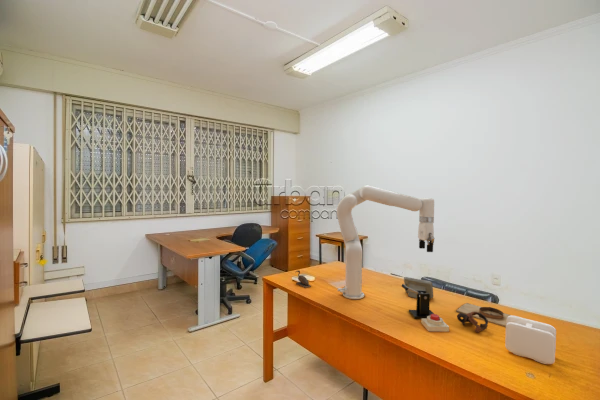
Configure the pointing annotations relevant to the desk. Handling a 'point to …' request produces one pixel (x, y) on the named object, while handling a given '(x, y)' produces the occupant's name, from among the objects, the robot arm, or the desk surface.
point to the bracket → (422, 306)
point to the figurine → (302, 281)
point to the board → (485, 313)
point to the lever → (410, 289)
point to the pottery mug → (470, 319)
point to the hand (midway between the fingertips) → (425, 250)
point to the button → (435, 317)
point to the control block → (434, 324)
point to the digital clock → (418, 286)
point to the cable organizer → (531, 339)
